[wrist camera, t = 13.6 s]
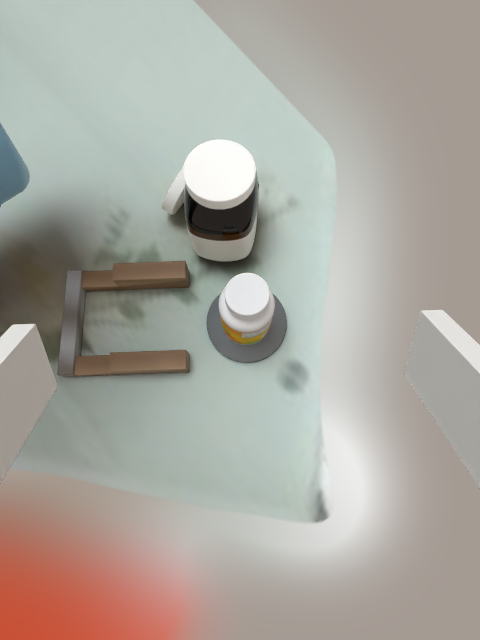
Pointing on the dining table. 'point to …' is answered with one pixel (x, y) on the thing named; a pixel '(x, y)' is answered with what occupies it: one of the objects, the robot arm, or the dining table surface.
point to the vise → (117, 279)
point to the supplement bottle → (246, 308)
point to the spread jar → (217, 199)
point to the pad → (253, 350)
